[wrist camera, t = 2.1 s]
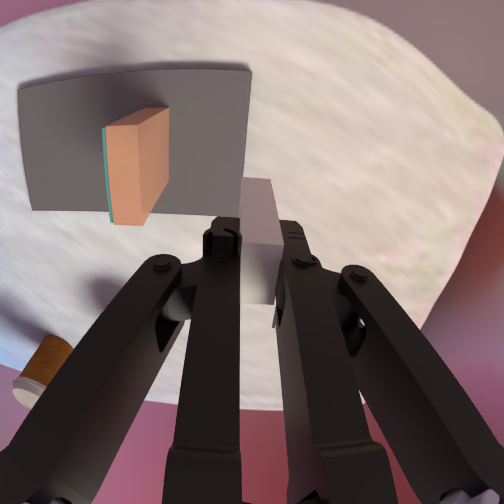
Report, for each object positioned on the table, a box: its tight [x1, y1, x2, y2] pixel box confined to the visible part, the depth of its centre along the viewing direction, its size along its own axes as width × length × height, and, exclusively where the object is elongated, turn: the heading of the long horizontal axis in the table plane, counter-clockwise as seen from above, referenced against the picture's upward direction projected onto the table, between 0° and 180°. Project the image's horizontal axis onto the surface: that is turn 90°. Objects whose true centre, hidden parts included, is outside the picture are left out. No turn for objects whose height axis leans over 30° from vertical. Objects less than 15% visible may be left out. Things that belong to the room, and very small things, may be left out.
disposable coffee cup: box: [13, 336, 74, 410], centre depth 38 cm, size 10×10×12 cm
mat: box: [17, 69, 252, 217], centre depth 26 cm, size 24×14×1 cm, turn 85°
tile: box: [102, 107, 170, 226], centre depth 22 cm, size 2×7×9 cm, turn 175°
